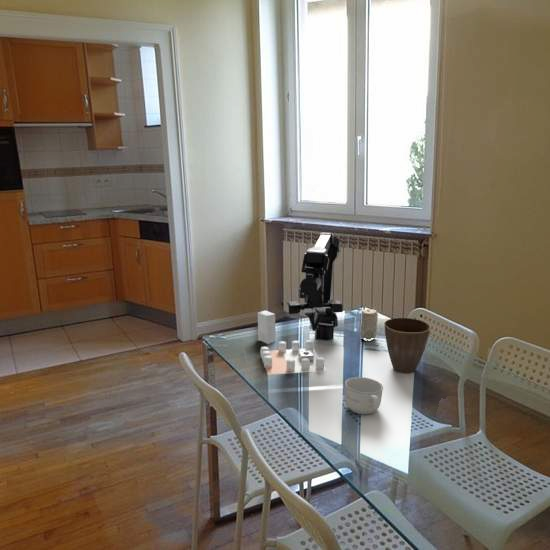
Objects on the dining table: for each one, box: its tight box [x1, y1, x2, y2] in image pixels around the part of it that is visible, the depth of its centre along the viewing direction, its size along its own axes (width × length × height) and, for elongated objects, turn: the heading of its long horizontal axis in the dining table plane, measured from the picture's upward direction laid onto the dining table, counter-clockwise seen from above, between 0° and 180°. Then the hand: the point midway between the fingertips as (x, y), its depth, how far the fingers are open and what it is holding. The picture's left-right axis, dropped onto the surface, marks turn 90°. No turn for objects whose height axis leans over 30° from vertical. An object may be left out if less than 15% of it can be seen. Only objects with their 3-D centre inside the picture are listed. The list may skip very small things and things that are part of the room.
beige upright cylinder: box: [359, 308, 379, 339], centre depth 201 cm, size 6×8×12 cm
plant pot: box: [383, 317, 431, 374], centre depth 174 cm, size 15×15×16 cm
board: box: [259, 339, 328, 376], centre depth 179 cm, size 20×20×4 cm
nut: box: [298, 351, 314, 362], centre depth 180 cm, size 4×4×2 cm
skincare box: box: [257, 309, 277, 345], centre depth 196 cm, size 6×4×12 cm
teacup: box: [344, 376, 384, 415], centre depth 146 cm, size 14×11×8 cm
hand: (313, 330), depth 178 cm, fingers closed
